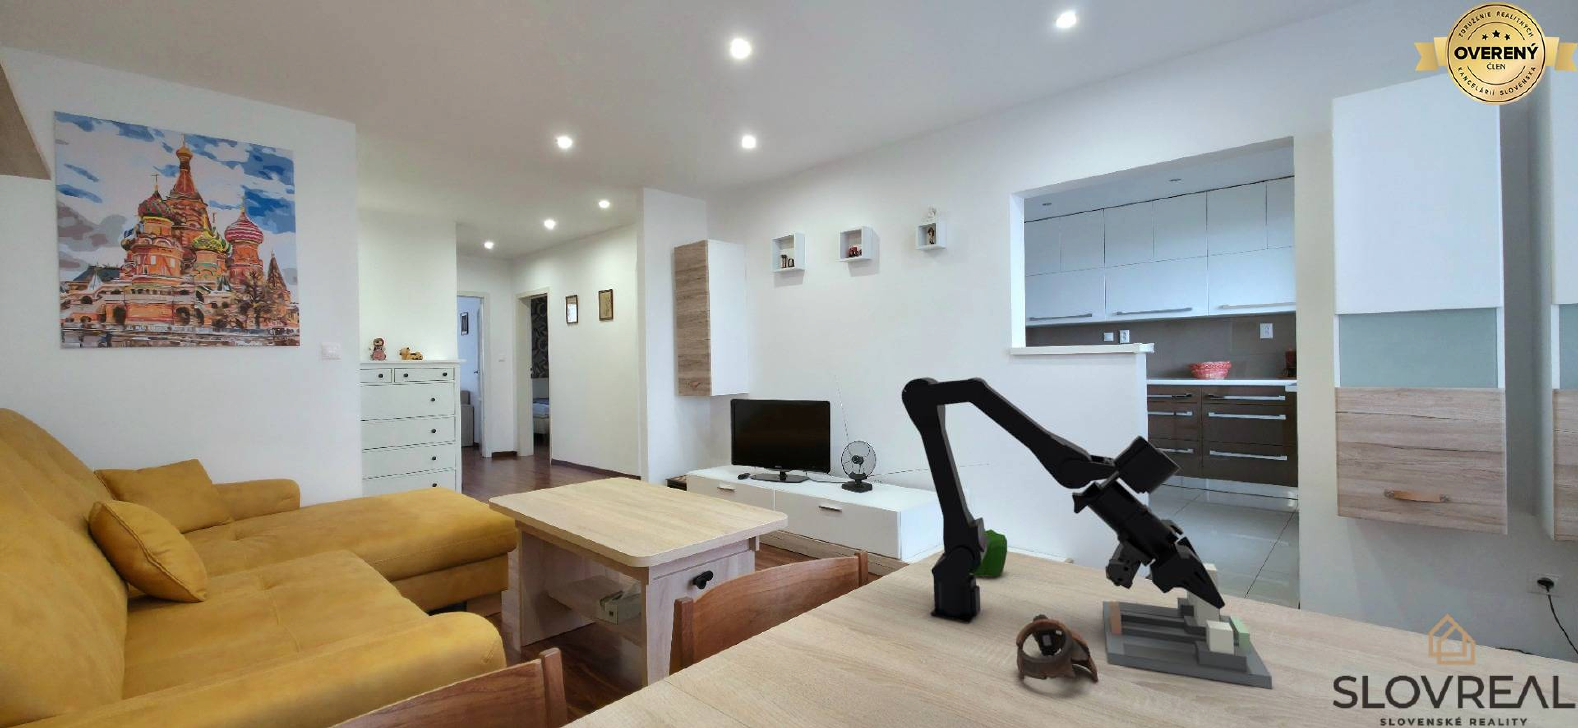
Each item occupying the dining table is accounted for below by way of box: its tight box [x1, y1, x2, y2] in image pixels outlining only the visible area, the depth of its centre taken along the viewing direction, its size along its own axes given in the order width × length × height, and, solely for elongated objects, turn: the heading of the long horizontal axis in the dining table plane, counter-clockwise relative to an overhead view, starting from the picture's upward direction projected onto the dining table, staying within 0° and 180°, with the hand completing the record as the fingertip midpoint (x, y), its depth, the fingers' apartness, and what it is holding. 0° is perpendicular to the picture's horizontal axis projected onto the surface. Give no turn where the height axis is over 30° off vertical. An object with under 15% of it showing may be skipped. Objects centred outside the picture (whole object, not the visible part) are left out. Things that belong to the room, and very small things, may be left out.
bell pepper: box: [970, 527, 1008, 578], centre depth 120 cm, size 8×8×10 cm
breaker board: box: [1102, 590, 1273, 689], centre depth 88 cm, size 18×20×6 cm
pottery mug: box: [1015, 613, 1099, 682], centre depth 82 cm, size 12×10×8 cm
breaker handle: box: [1184, 562, 1226, 636], centre depth 87 cm, size 5×4×10 cm
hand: (1218, 599), depth 86 cm, fingers open, 5 cm apart
